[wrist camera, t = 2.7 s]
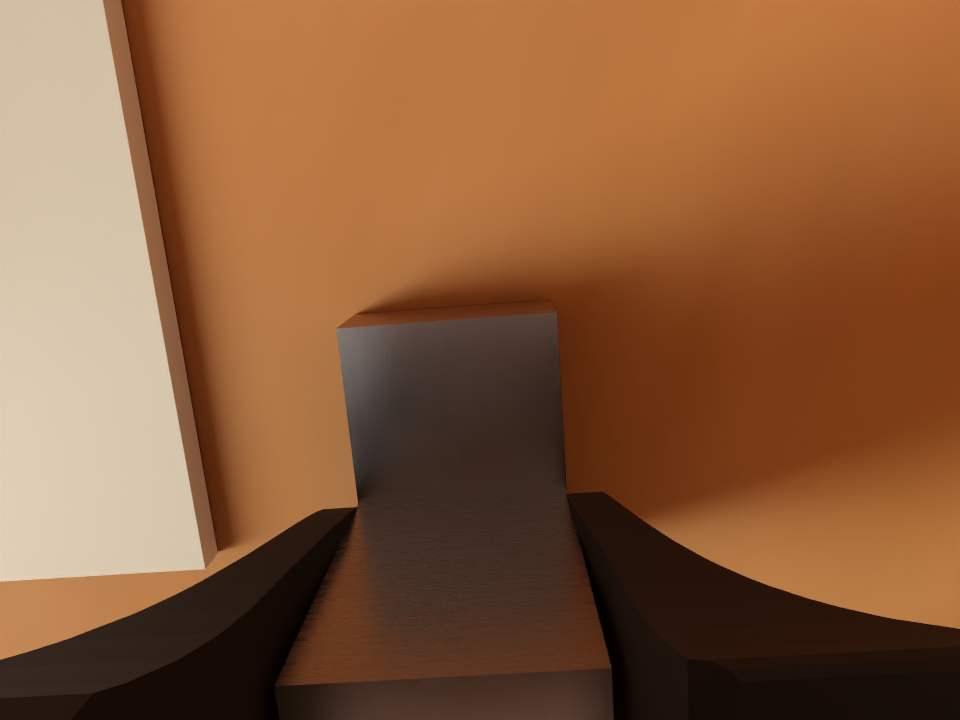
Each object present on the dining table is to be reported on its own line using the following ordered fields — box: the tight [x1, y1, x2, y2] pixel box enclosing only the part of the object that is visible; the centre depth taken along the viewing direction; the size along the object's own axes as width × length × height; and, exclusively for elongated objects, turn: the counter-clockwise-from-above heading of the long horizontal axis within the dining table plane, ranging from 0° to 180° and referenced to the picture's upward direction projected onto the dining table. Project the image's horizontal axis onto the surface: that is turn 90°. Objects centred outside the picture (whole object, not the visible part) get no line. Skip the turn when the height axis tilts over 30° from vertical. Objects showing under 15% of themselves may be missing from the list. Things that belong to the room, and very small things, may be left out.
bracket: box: [274, 300, 614, 720], centre depth 10 cm, size 5×4×6 cm
